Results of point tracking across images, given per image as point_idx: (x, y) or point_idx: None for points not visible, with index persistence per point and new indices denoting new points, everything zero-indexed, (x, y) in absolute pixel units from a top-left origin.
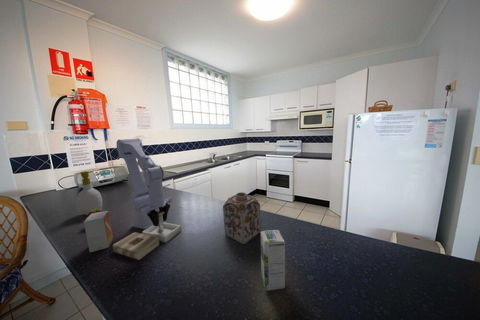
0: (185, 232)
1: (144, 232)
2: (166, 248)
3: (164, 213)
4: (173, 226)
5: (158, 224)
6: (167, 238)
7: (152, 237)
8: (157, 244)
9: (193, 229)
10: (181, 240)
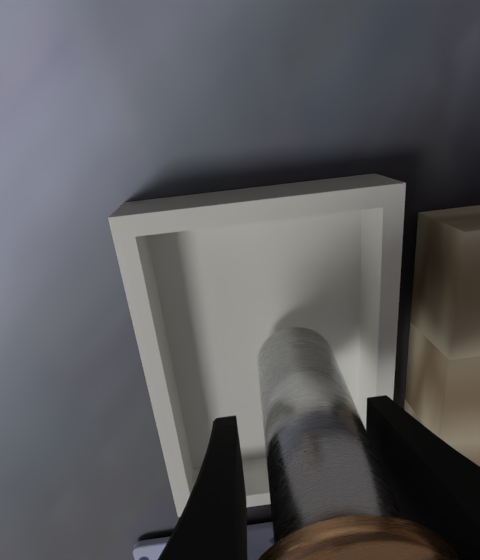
0: (127, 113)
1: None
2: (452, 74)
3: (239, 541)
4: (156, 313)
5: (358, 413)
6: (358, 180)
7: (472, 302)
8: (446, 213)
9: (14, 55)
10: (279, 16)
